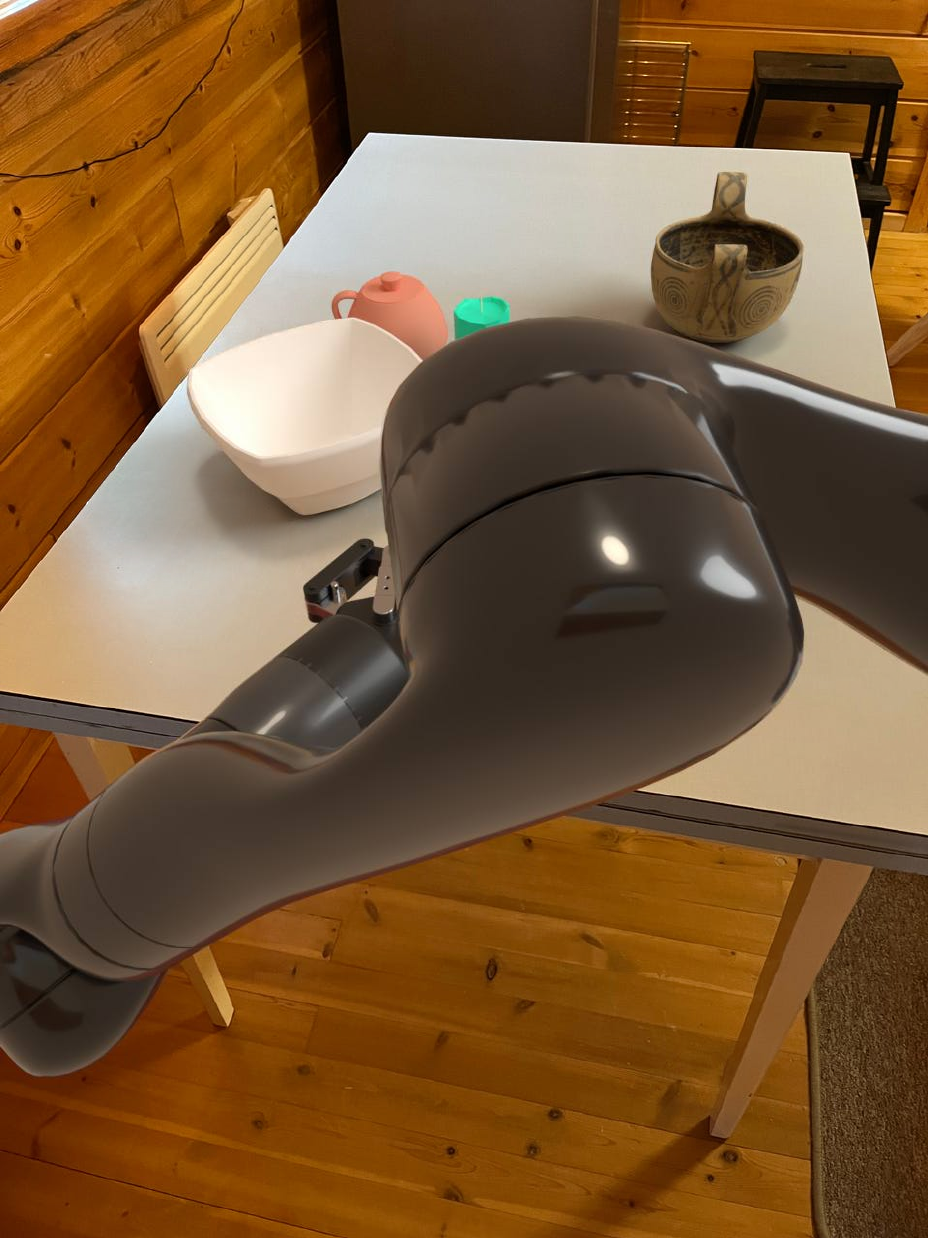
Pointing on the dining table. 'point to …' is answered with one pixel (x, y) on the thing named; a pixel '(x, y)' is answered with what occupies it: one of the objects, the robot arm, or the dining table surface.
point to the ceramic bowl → (724, 269)
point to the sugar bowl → (399, 311)
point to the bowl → (304, 408)
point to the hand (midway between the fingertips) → (496, 559)
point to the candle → (479, 314)
